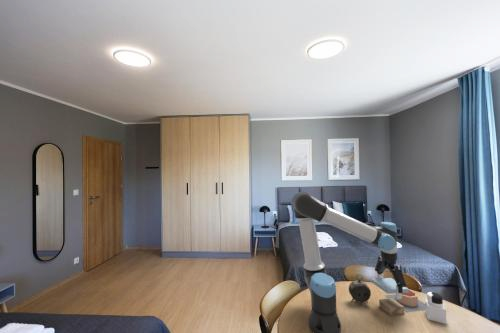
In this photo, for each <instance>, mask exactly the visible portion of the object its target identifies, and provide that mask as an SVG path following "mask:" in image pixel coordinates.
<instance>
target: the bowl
mask: <svg viewBox="0 0 500 333" xmlns="http://www.w3.org/2000/svg"><path fill="white" fill-rule="evenodd" d="M408 289H409V288H408ZM418 300H419V299H418V293H417V292H416V291H414V290H412V289H409V292H408V293H402V299H397V301H398V302H399V303H401V304H402V305H405V306H408V307H417V306H418Z"/></svg>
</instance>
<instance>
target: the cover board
mask: <svg viewBox="0 0 500 333" xmlns="http://www.w3.org/2000/svg"><path fill="white" fill-rule="evenodd" d="M371 283H372V284H373V285H375V286H376V287H378V288H379V289H380V290H381V291H383V292H384V293H386V294H387V295H394V294H396V285H397V284H396V281H395V279H394V278H392V277H384V278H381V279H378V278H371ZM408 292H409V288H408V287H407V286H406V287H403V293H408Z"/></svg>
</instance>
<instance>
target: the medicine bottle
mask: <svg viewBox="0 0 500 333" xmlns="http://www.w3.org/2000/svg"><path fill="white" fill-rule="evenodd" d="M443 299H444V298H443V296H442V295H441V294H439V293H437V292H434V291H429V292H427V293H426V298H425V299H424V304H425V309H426V310H425V314H426V317H427V319H428V320H430V321H434V322H437V323H441V324H444V325H445V324H446V325H447V324H448V321H447V308H446V307H445V305H444V302H443Z"/></svg>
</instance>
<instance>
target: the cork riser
mask: <svg viewBox="0 0 500 333" xmlns="http://www.w3.org/2000/svg"><path fill="white" fill-rule="evenodd" d="M378 301H379V306H378V307H380V308H381V309H382V310H383V311H385V313H387V314H388V315H389V316H398V315H400V316H401V315H405V311H404V306H402V305H401V304H399V303H398V302H397V301H395V300H394V299H393V298H390V299H388V298H382V299H379V300H378Z"/></svg>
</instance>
